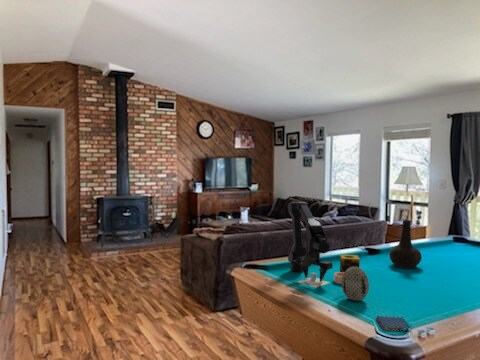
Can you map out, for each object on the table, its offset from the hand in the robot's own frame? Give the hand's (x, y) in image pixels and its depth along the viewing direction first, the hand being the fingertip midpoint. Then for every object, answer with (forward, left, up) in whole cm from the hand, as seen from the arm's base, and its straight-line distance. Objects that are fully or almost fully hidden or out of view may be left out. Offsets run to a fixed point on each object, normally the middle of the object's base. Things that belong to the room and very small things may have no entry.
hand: (313, 279), depth 191 cm
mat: (0, 0, -2) cm, 2 cm away
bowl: (+10, +12, -2) cm, 16 cm away
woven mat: (+49, -20, -3) cm, 53 cm away
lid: (0, 0, -1) cm, 1 cm away
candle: (+4, +29, -2) cm, 29 cm away
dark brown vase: (+18, +70, -2) cm, 72 cm away
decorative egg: (+26, -6, -2) cm, 27 cm away
